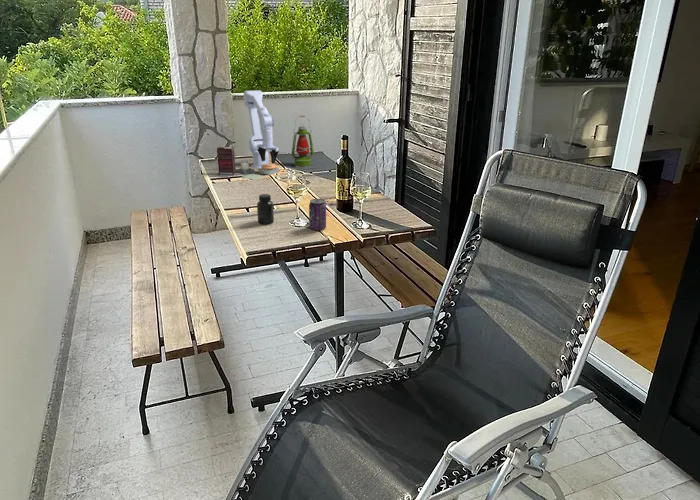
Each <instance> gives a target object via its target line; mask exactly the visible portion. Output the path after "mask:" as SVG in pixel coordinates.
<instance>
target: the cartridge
mask: <svg viewBox="0 0 700 500" xmlns="http://www.w3.org/2000/svg"><path fill="white" fill-rule="evenodd" d="M249 164H250V162H249V160H248V159H243V160H240V168H241V170H242V171H248V170H249V168H250V166H249Z"/></svg>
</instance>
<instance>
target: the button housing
mask: <svg viewBox="0 0 700 500" xmlns="http://www.w3.org/2000/svg"><path fill="white" fill-rule="evenodd" d="M279 172H280V169H279V167H276V168H275V169H262V168H258V173H259V174H260V175H265V176H272V175H275V174H279Z"/></svg>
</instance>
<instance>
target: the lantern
mask: <svg viewBox="0 0 700 500" xmlns="http://www.w3.org/2000/svg"><path fill="white" fill-rule="evenodd" d="M298 118H307V119H308V123H309V124H308V127H307V126H304V125H303V124H300V126H298V127H297V125H296V124H297V123H296V122H297V120H298ZM310 121H311V120H310V118H309V117H308V116H306V115H298V116H297V117H296V118H295V120H294V125H295V126H294V128H293V139H292V146H291V158H292V159H294V165H295V166H298V167H305V166H310V165H312V158H314V156H315V151H314V143H313V138H312V137H313V136H312V129H311V124H310ZM296 127H297V128H298V131H296ZM307 128H309V130H310V131H308V129H307ZM295 131H296V132H295ZM297 135H299V136H298V139H297ZM307 135H308V137H307ZM308 139H309V142H308ZM296 141H297V142H296ZM295 153H296V154H298V156H295ZM309 153H310V155H308V154H309ZM295 166H294V167H295Z"/></svg>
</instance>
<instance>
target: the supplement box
mask: <svg viewBox="0 0 700 500" xmlns="http://www.w3.org/2000/svg"><path fill="white" fill-rule="evenodd" d="M216 155H217V165H218V166H217V167H218V176H221V177H223V176H224V177H234V176H236V175H237V173H236V170H237V168H236V158H235V156H236V155H235V147H234V146H217V148H216Z"/></svg>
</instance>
